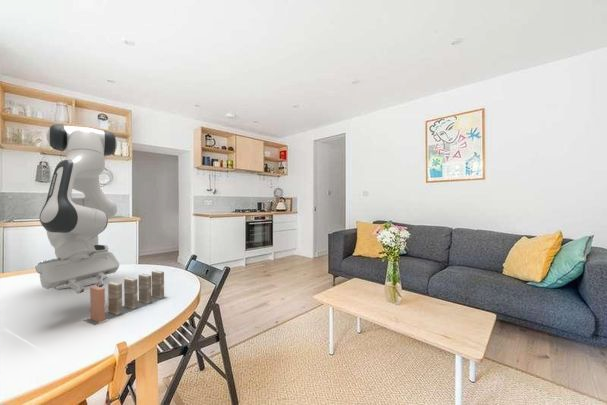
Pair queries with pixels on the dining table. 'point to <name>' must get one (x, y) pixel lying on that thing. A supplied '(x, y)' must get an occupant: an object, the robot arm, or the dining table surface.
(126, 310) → the slate mat
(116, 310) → the domino
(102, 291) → the terracotta domino
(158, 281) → the domino
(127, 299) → the domino
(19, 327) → the dining table surface
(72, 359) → the dining table surface
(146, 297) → the domino
